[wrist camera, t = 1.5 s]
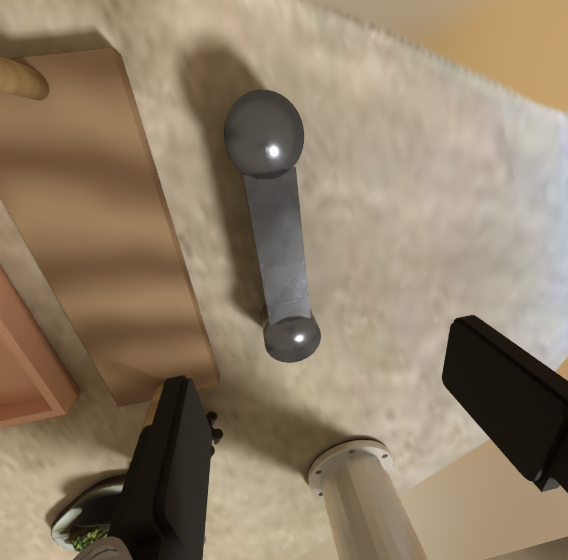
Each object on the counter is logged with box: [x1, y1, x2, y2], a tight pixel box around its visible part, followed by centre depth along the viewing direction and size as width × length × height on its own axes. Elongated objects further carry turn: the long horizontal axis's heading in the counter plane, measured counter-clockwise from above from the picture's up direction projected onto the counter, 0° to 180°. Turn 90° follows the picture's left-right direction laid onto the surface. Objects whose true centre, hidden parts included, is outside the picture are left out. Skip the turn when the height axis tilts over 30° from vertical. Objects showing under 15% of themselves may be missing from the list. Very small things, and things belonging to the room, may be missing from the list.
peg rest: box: [0, 48, 220, 430], centre depth 21 cm, size 28×10×6 cm, turn 7°
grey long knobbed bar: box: [224, 90, 321, 363], centre depth 23 cm, size 21×5×4 cm, turn 7°
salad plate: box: [51, 476, 206, 552], centre depth 37 cm, size 19×18×5 cm
